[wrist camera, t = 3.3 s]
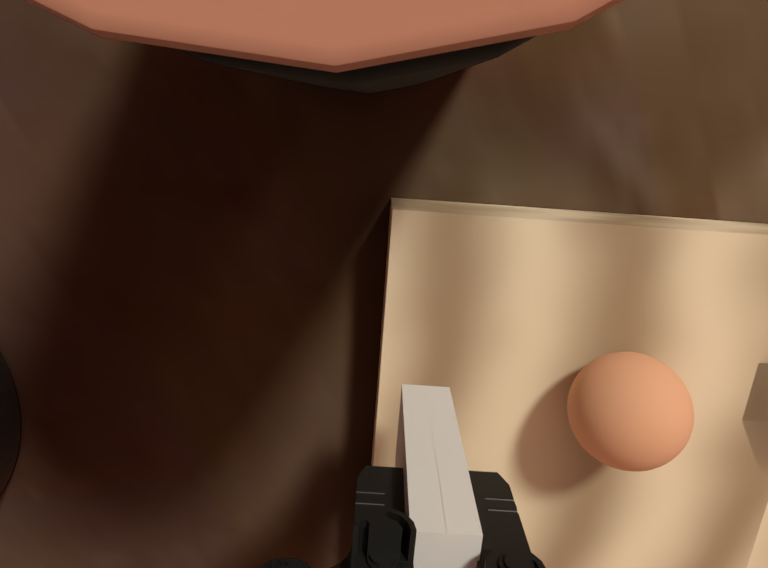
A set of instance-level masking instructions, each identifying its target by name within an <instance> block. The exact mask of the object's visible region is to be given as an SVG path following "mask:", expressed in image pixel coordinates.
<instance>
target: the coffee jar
mask: <svg viewBox="0 0 768 568" xmlns="http://www.w3.org/2000/svg"><path fill="white" fill-rule="evenodd" d="M25 1H27V2H29V3H32V4H34V5H36V6H38V7H40V8H42V9H44V10H46V11H48V12H50V13H52V14H54V15H56V16H58V17H60V18H62V19H64V20H66V21H68V22H70V23H72V24H74V25H76V26H78V27H80V28H82V29H84V30H86V31H88V32H90V33H92V34H94V35H96V36H98V37H103V38H109V39H116V40H123V41H129V42H136V43H143V44H149V45H156V46H163V47H169V48H176V49H180V50H182V51H184V52H186V53H188V54H190V55H192V56H194V57H196V58H198V59H200V60H202V61H204V62H208V63H213V64H217V65H222V66H227V67H231V68H236V69H241V70H246V71H250V72H255V73H260V74H264V75H269V76H274V77H278V78H283V79H288V80H293V81H297V82H302V83H307V84H311V85H316V86H321V87H327V88H334V89H341V90H348V91H354V92H361V93H368V94H371V93H377V92H382V91H388V90H393V89H399V88H404V87H409V86H415V85H419V84H422V83H425V82H428V81H431V80H434V79H436V78H439V77H442V76H445V75H448V74H451V73H454V72H456V71H459V70H462V69H465V68H468V67H471V66H474V65H477V64H479V63H482V62H485V61H488V60H491V59H494V58H497V57H499V56H501V55H502V54H504V53H506V52H508V51H510V50H512V49H513V48H515V47H517V46H519V45H521V44H522V43H524V42H526V41H528V40H530V39H532V38H533V37H535V36H537V35H542V34H548V33H553V32H559V31H564V30H569V29H572V28H573V27H575V26H577V25H579V24H581V23H583V22H584V21H586V20H588V19H590V18H592V17H594V16H595V15H597V14H599V13H601V12H603V11H605V10H606V9H608V8H610V7H612V6H614V5H615V4H617V3H619V2H621V1H623V0H25Z"/></svg>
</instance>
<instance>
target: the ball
mask: <svg viewBox="0 0 768 568" xmlns="http://www.w3.org/2000/svg"><path fill="white" fill-rule="evenodd" d="M567 413H568V419H569V423H570V426H571V429H572V431H573V433H574V435H575V437H576V439H577V440H578V442H579V443H580V444H581V446H582V447H583V448H584V449H585V450H586V451H587V452H588V453H589V454H590V455H591V456H593V457H594V458H595V459H597V460H598V461H600V462H602V463H604V464H605V465H607V466H610V467H613V468H616V469H619V470H623V471H633V472H640V471H648V470H652V469H655V468H658V467H661V466H663V465H665V464H667V463H668V462H670V461H671V460H673V459H674V458H675V457H676V456H677V455H679V454H680V452H681V451H682V450H683V449H684V448H685V446H686V444H687V443H688V441H689V439H690V436H691V433H692V430H693V425H694V408H693V403H692V399H691V396H690V394H689V391H688V389H687V387H686V386H685V384H684V383H683V381H682V380H681V378H680V377H679V376H678V375H677V374H676V373H675V372H674V371H673V370H672V369H671V368H670V367H668V366H667V365H666V364H664V363H663V362H661V361H659V360H658V359H655V358H653V357H651V356H648V355H645V354H641V353H636V352H615V353H610V354H606V355H603V356H601V357H599V358H597V359H595V360H593V361H592V362H590V363H589V364H587V365H586V366H585V367H584V368H583V369H582V370H581V371H580V372H579V373H578V375H577V376H576V378H575V379H574V381H573V383H572V385H571V388H570V390H569V394H568V401H567Z"/></svg>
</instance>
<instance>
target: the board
mask: <svg viewBox="0 0 768 568" xmlns="http://www.w3.org/2000/svg"><path fill="white" fill-rule="evenodd" d="M615 352H636V353H641V354H645V355H648V356H651V357H653V358H655V359H658V360H659V361H661V362H663V363H664V364H666V365H667V366H668V367H670V368H671V369H672V370H673V371H674V372H675V373H676V374H677V375H678V376H679V377H680V378H681V380H682V381H683V383H684V384H685V386H686V387H687V389H688V391H689V394H690V396H691V399H692V403H693V408H694V425H693V430H692V433H691V436H690V439H689V441H688V443H687V444H686V446H685V448H684V449H683V450H682V451H681V452H680V454H679V455H677V456H676V457H675V458H674V459H673V460H671V461H670V462H668V463H667V464H665V465H663V466H661V467H658V468H655V469H652V470H648V471H640V472H633V471H623V470H619V469H616V468H613V467H610V466H607V465H605V464H604V463H602V462H600V461H598V460H597V459H595V458H594V457H593V456H591V455H590V454H589V453H588V452H587V451H586V450H585V449H584V448H583V447H582V446H581V444H580V443H579V442H578V440H577V439H576V437H575V435H574V433H573V431H572V429H571V426H570V423H569V419H568V413H567V401H568V394H569V390H570V388H571V385H572V383H573V381H574V379H575V378H576V376H577V375H578V373H579V372H580V371H581V370H582V369H583V368H584V367H585V366H586V365H587V364H589V363H590V362H592V361H593V360H595V359H597V358H599V357H601V356H603V355H606V354H610V353H615ZM402 384H408V385H423V386H439V387H450V391H451V396H452V400H453V405H454V409H455V414H456V418H457V422H458V427H459V431H460V436H461V440H462V445H463V449H464V453H465V458H466V462H467V467H468V471H483V472H498V473H499V474H500V475H501V477H502V478H503V479H504V480H505V481H506V482H507V483H508V484H509V486H510V489H511V492H512V495H513V498H514V501H515V504H516V507H517V513H519V516H520V520H521V523H522V526H523V529H524V532H525V535H526V538H527V541H528V544H529V547H530V550H531V553H533V554H534V555H535V556H536V557H538V558H539V559H540V560H541V561H542V562H543V564H544V566H545V567H546V568H768V224H763V223H749V222H735V221H720V220H706V219H692V218H677V217H663V216H648V215H634V214H620V213H605V212H591V211H577V210H562V209H548V208H534V207H519V206H505V205H491V204H476V203H462V202H448V201H433V200H419V199H405V198H391V206H390V219H389V233H388V246H387V259H386V273H385V286H384V299H383V313H382V326H381V339H380V353H379V366H378V379H377V393H376V406H375V419H374V433H373V446H372V459H371V466H382V467H395V455H396V444H397V432H398V421H399V410H400V399H401V387H402Z"/></svg>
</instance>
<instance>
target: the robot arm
mask: <svg viewBox="0 0 768 568" xmlns="http://www.w3.org/2000/svg"><path fill="white" fill-rule="evenodd" d="M20 435H21V421H20V410H19V404H18V398H17V394H16V390H15V386H14V383H13V380H12V377H11V375H10V372H9V370H8V367H7V365H6V363H5V360H4V359H3V357H2V355H1V353H0V494H1V492H2V491H3V489H4V487H5V486H6V484H7V482H8V480H9V478H10V476H11V474H12V471H13V469H14V466H15V463H16V459H17V456H18V451H19V445H20ZM259 568H311V567H310V566H309V565H308V564H307V563H304V562H302V561H300V560H298V559H293V558H280V559H275V560H271V561H269V562H267V563H265V564H263V565H261V566H260V567H259ZM331 568H546V567H545V566H544V564H543V562H542V561H541V560H540V559H539V558H538V557H536V556H535V555H534V554H533V553H531V550H530V547H529V544H528V541H527V538H526V535H525V532H524V529H523V526H522V523H521V520H520V516H519V513H517V507H516V504H515V501H514V498H513V495H512V492H511V489H510V486H509V484H508V483H507V482H506V481H505V480H504V479H503V478H502V477H501V475H500V474H499V473H498V472H483V471H468V467H467V462H466V458H465V453H464V449H463V445H462V440H461V436H460V431H459V427H458V422H457V418H456V414H455V409H454V405H453V400H452V396H451V391H450V387H439V386H423V385H408V384H402V387H401V399H400V410H399V421H398V432H397V444H396V455H395V467H382V466H365V468H364V469H363V470H362V471H361V473H360V474H359V475H358V477H357V489H356V502H355V516H354V526H353V538H352V548H351V551H350V553H349V554H348V556H347V557H346V558H345V559H344V560H343V561H342V562H341V563H339V564H337V565H335V566H334V567H331Z"/></svg>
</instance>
